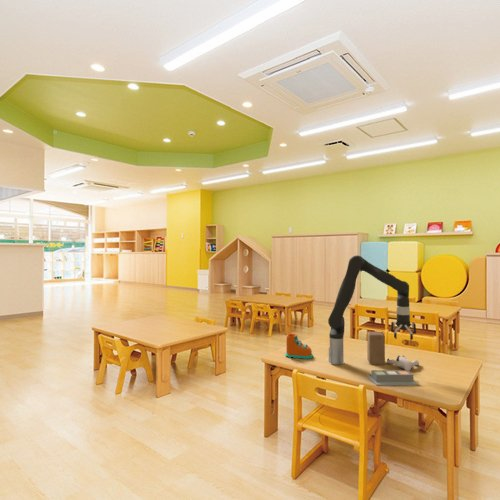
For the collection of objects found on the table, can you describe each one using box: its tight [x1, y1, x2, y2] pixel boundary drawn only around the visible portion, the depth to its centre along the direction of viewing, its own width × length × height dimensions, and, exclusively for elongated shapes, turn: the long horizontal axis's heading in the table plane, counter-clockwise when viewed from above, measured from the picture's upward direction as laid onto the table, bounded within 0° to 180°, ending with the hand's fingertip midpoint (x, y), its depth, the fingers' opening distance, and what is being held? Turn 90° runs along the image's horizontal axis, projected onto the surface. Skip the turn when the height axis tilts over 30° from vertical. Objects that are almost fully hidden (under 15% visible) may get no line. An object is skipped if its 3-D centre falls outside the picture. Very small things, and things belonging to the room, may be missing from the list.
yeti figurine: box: [386, 355, 420, 372], centre depth 223 cm, size 20×7×20 cm
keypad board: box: [366, 369, 419, 387], centre depth 199 cm, size 24×14×5 cm, turn 91°
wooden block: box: [366, 331, 386, 366], centre depth 231 cm, size 10×10×20 cm
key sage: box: [374, 371, 386, 375], centre depth 199 cm, size 5×5×2 cm
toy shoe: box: [285, 333, 314, 360], centre depth 245 cm, size 12×20×15 cm, turn 72°
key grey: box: [386, 371, 397, 375], centre depth 199 cm, size 5×5×2 cm
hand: (403, 339), depth 211 cm, fingers open, 8 cm apart
